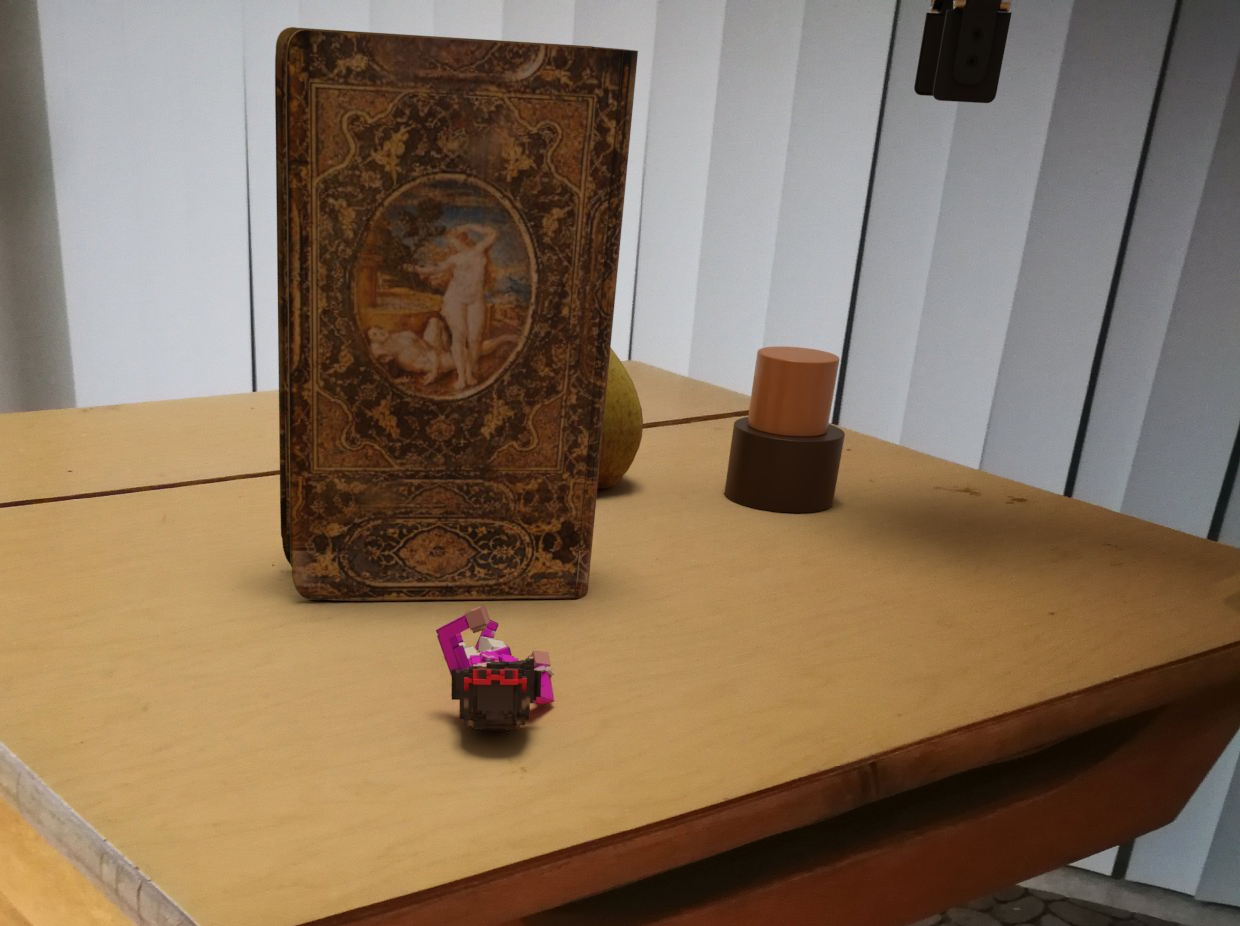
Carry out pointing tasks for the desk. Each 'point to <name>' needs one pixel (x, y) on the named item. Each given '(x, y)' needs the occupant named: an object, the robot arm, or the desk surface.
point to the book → (444, 309)
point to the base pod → (783, 469)
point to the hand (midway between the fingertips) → (951, 98)
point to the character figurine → (492, 675)
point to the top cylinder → (792, 391)
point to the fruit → (619, 424)
